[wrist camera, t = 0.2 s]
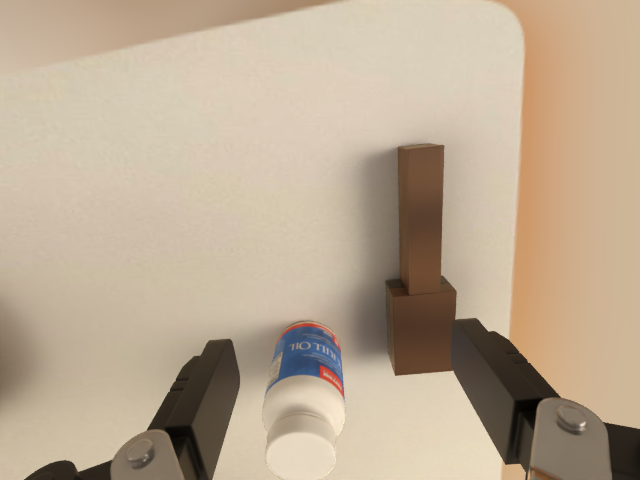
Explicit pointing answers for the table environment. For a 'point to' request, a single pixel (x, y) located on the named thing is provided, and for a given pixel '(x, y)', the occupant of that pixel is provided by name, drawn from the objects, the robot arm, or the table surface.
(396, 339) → the brush
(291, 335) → the pill bottle
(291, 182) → the table surface
